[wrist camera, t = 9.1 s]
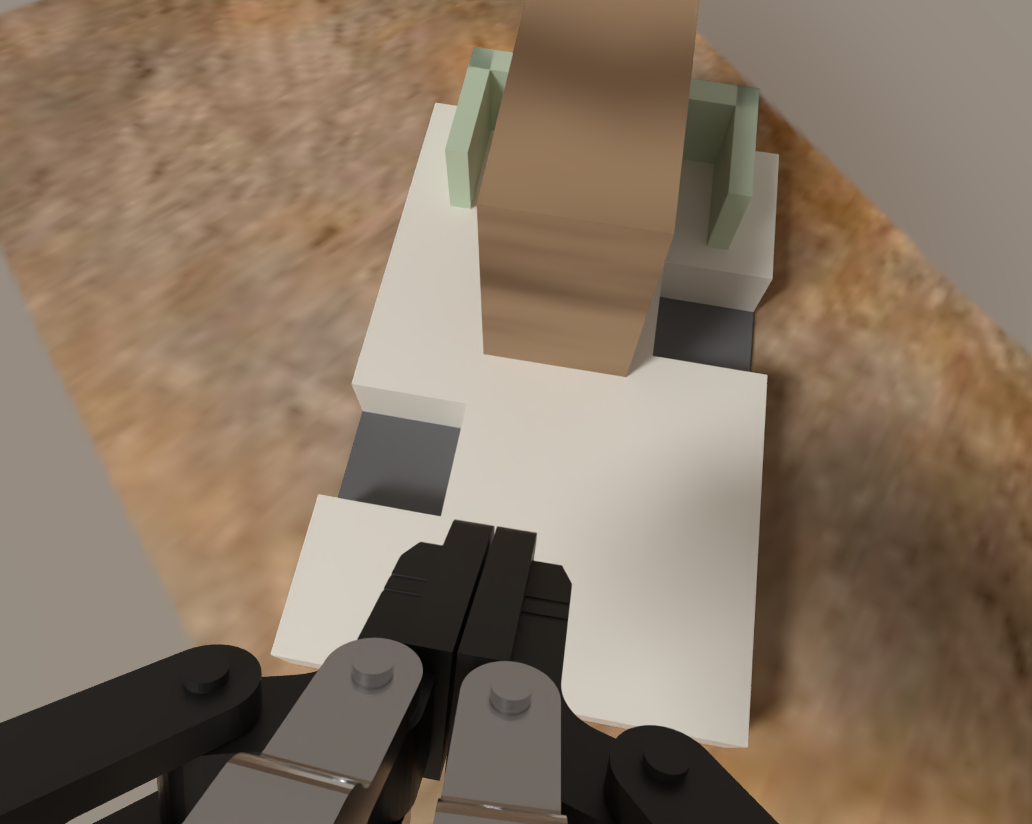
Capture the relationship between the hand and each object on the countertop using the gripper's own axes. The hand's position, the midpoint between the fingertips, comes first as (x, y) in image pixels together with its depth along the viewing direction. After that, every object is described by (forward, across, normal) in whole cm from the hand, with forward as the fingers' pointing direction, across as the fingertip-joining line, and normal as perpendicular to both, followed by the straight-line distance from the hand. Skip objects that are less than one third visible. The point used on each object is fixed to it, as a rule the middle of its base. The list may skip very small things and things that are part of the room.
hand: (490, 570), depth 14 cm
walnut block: (+17, 0, -3) cm, 17 cm away
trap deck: (+16, 0, +2) cm, 16 cm away
